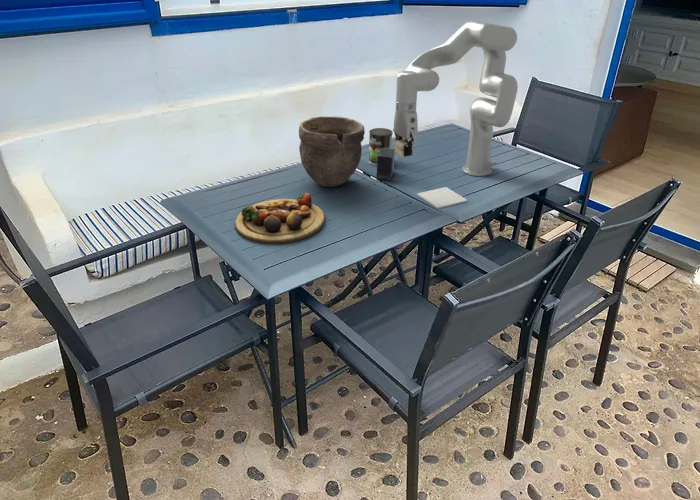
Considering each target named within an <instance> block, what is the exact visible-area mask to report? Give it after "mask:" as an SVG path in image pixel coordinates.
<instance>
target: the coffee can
mask: <svg viewBox="0 0 700 500" xmlns="http://www.w3.org/2000/svg"><path fill="white" fill-rule="evenodd" d="M368 133H369V140H368V141H369V143H368V146H369V147H368V163H369V164H371V165H373V166H377V156H378V154H379V152H380V150H381V148H388V149H393V147H392V145H393V133H394V131H392V130H391V129H389V128H384V127H376V128H371V129H370V130H369V131H368Z"/></svg>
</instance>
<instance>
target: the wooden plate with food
mask: <svg viewBox="0 0 700 500" xmlns="http://www.w3.org/2000/svg"><path fill="white" fill-rule="evenodd" d="M312 200H313V199H312V195H311V193H309V192H304V194H303V193H301V194H299V197H297V198H296V199H294V198H293V199H291V198H280V199H271V200H266V201H262V202H258V203H255V204H253V205H246V206H245V207H243V208H242V209H241V212H239V214H238V215H237V216H236V219H235V221H234V226H235V227H234V228H235V230H236V232H237V233H238V234H239V235H240V236H242V237H243V238H244V239H247V240H249V241H252V242H254V243H260V244H267V245H268V244H269V245H281V244H282V243H283V244H289V243H294V242H297V241H301V240H304V239H307V238H309V237H311V236H313V235H314V234H316V233H318V232H319V231H320V230H321V228H323V226H324V224H325V219H326V216H325V213H324V211H323V210H322V208H320V207H319V206H318V205H316V204H314V203H312Z"/></svg>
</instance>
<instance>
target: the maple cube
mask: <svg viewBox="0 0 700 500" xmlns="http://www.w3.org/2000/svg"><path fill="white" fill-rule="evenodd" d="M409 141H410V139H409V140H408V142H409ZM404 146H405V138H403V139H402V140H397V141H396V140H394V149H395V155H397V156H398V157H400V158H405V157H407V156H404ZM413 154H414V145H413V146H412V155H410V156H413ZM410 156H409V157H410Z"/></svg>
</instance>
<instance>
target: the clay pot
mask: <svg viewBox="0 0 700 500" xmlns="http://www.w3.org/2000/svg"><path fill="white" fill-rule="evenodd" d="M365 131H366V130H365V126H364V124H363V123H362V122H360V121H359V120H355V119H353V118H348V117H345V116H317V117H316V116H315V117H311V118H308V119H305V120H303V121H302V122H300V123H299V127H298V136H299V141H300V142H299V147H298V150H299V155H300V156H299V157H300V161H301V164H302V166H303V168H304V170H305V172H306V173H307V175H308V176H309V177H310V179H311V180H312V181H313V182H314V183H316V184H318V185H320V186H322V187H329V188H331V187H332V188H334V187H339V186H341V185H343V184H344V183H346V182H347V181H348V180H349V179H350V178H351V176H352V175H353V174H354V173H355V172H356V170H357V168H358V166H359V165H360V162H361V159H362V148H363V147H362V142H363V141H364V139H365V133H366V132H365Z"/></svg>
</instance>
